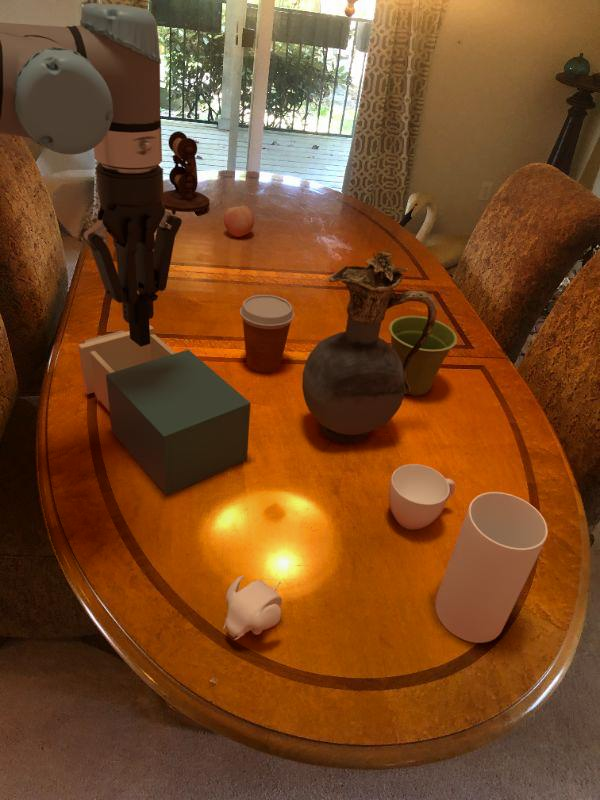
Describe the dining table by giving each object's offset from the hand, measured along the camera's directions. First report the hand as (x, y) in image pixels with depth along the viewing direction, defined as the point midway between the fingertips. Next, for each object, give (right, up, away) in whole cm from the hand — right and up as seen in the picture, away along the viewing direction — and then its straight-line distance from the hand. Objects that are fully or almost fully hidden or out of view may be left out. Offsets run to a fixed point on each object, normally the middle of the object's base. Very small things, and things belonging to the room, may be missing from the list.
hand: (140, 340), depth 85 cm
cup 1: (+38, -25, +1) cm, 46 cm away
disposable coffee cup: (+15, -2, +30) cm, 33 cm away
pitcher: (+31, -13, +16) cm, 37 cm away
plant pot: (+42, -6, +28) cm, 51 cm away
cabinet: (+4, -15, +9) cm, 18 cm away
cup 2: (+42, -34, -11) cm, 55 cm away
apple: (+6, +36, +80) cm, 87 cm away
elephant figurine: (+17, -34, -15) cm, 40 cm away
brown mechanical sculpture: (-12, +47, +93) cm, 104 cm away
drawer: (-5, -7, +16) cm, 19 cm away
